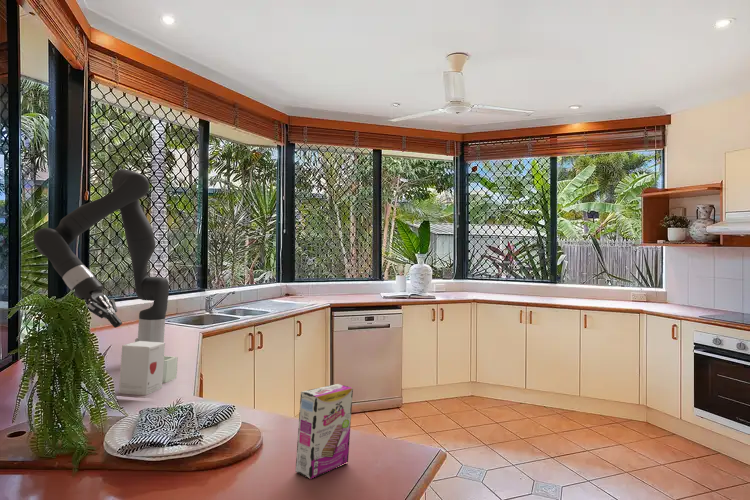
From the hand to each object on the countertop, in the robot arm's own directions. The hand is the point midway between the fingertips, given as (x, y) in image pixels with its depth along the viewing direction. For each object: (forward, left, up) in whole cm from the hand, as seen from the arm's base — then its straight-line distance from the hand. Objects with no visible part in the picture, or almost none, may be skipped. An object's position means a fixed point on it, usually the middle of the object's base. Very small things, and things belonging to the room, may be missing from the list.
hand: (118, 325), depth 150 cm
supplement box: (+10, -2, -20) cm, 22 cm away
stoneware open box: (+9, +11, -20) cm, 24 cm away
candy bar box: (+73, -44, -20) cm, 88 cm away
